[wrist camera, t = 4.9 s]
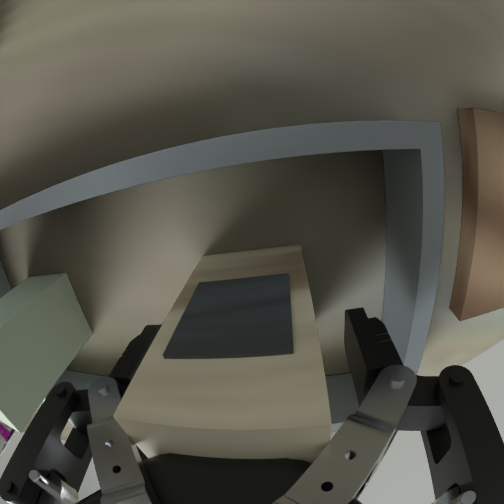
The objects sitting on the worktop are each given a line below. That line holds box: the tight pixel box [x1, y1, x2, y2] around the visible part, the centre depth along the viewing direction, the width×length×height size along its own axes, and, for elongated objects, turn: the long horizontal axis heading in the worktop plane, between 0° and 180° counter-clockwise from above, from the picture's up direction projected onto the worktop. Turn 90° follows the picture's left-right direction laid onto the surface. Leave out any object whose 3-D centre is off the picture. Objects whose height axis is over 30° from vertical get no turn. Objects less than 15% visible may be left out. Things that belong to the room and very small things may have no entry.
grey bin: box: [0, 120, 444, 432], centre depth 14 cm, size 16×30×4 cm, turn 99°
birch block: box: [113, 244, 332, 464], centre depth 10 cm, size 5×5×10 cm
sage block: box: [0, 273, 93, 433], centre depth 13 cm, size 5×5×10 cm
